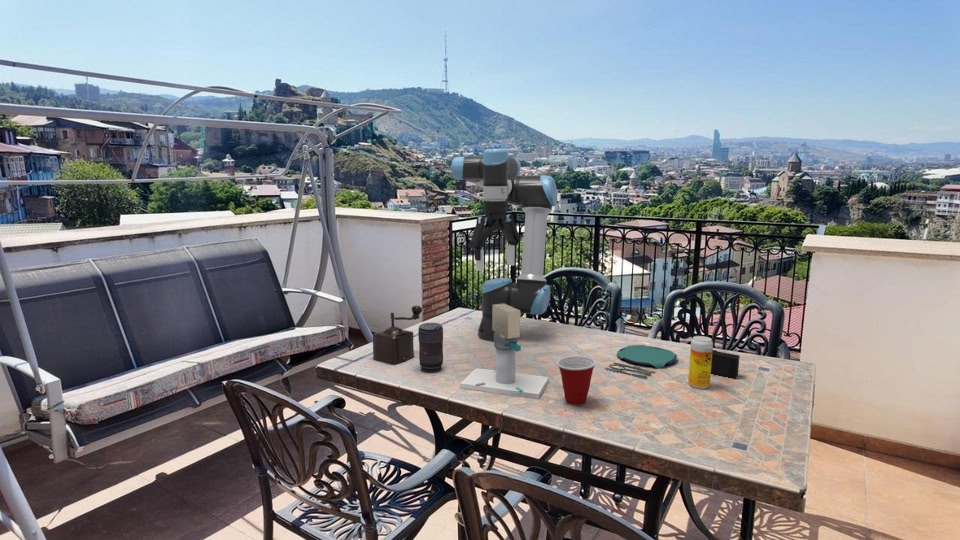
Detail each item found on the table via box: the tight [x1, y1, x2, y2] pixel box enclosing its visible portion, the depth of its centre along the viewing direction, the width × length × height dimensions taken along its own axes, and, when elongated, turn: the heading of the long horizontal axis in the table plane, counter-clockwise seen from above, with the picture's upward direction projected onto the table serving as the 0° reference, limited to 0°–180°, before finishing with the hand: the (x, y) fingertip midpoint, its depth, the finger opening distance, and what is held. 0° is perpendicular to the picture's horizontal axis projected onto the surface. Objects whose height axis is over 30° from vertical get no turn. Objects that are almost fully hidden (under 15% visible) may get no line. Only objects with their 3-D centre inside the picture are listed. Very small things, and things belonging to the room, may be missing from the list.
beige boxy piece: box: [492, 304, 522, 352], centre depth 156 cm, size 13×7×12 cm, turn 26°
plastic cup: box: [556, 355, 597, 406], centre depth 147 cm, size 11×11×12 cm
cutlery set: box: [604, 344, 678, 380], centre depth 181 cm, size 20×30×2 cm, turn 140°
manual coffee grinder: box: [372, 305, 423, 366], centre depth 184 cm, size 16×11×18 cm
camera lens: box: [417, 322, 444, 373], centre depth 172 cm, size 8×8×15 cm
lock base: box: [459, 348, 550, 400], centre depth 159 cm, size 14×24×12 cm, turn 71°
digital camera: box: [711, 349, 740, 380], centre depth 169 cm, size 10×5×7 cm, turn 53°
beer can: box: [687, 335, 714, 390], centre depth 158 cm, size 6×6×15 cm
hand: (495, 267), depth 165 cm, fingers open, 13 cm apart
